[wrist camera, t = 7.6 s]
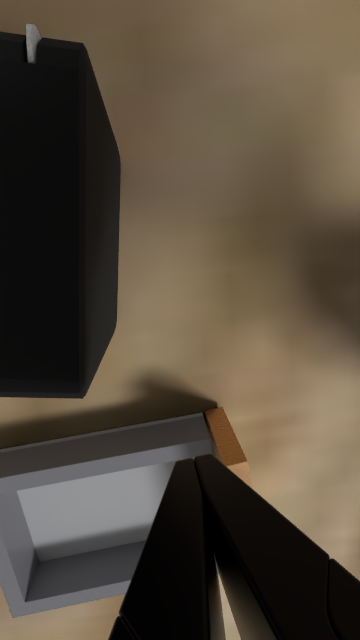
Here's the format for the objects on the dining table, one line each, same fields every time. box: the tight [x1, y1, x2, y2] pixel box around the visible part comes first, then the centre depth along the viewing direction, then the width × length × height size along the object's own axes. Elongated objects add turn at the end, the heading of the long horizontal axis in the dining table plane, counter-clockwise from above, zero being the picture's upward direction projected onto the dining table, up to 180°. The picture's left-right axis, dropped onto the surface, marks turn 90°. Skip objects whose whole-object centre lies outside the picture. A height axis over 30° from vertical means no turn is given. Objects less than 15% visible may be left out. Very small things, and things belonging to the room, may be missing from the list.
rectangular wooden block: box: [205, 407, 252, 488], centre depth 19 cm, size 11×2×6 cm, turn 11°
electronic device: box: [0, 23, 120, 399], centre depth 13 cm, size 4×10×10 cm, turn 176°
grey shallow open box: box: [0, 413, 219, 618], centre depth 20 cm, size 14×10×3 cm
